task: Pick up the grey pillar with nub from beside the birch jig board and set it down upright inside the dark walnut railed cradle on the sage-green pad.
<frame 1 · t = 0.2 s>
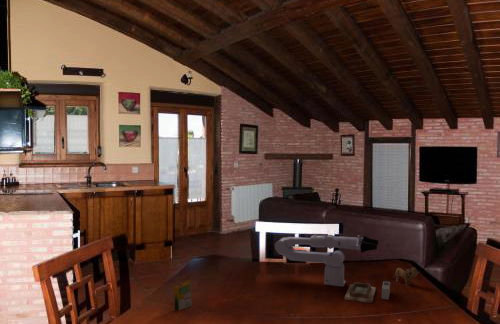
hand: (377, 244, 204), 21 cm above the table, tool horizontal, fingers open, 7 cm apart
grey pillar with nub: (385, 295, 196), on the table
lion figurine: (404, 283, 214), on the table
cradle jig: (360, 294, 197), on the table
crayon box: (183, 308, 181), on the table
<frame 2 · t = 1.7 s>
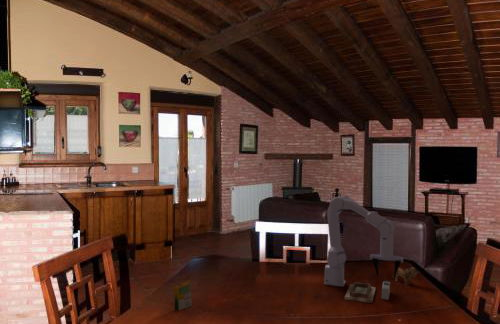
hand: (386, 275, 195), 9 cm above the table, tool pointing down, fingers open, 7 cm apart
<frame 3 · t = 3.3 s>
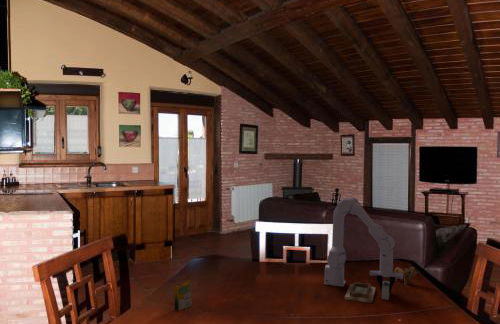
hand: (385, 292, 196), 1 cm above the table, tool pointing down, fingers closed on grey pillar with nub, 3 cm apart
grey pillar with nub: (385, 295, 196), on the table, touching gripper
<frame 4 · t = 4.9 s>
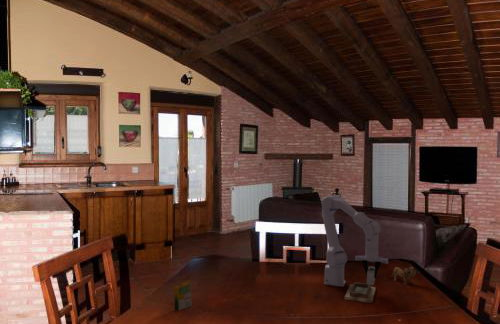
hand: (371, 277, 196), 8 cm above the table, tool pointing down, fingers closed on grey pillar with nub, 3 cm apart
grey pillar with nub: (371, 280, 196), point 7 cm above the table, touching gripper
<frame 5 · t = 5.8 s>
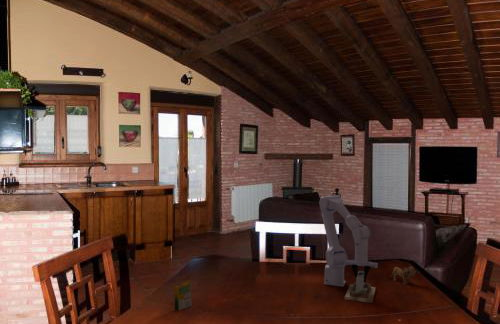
hand: (360, 281, 197), 6 cm above the table, tool pointing down, fingers closed on grey pillar with nub, 3 cm apart
grey pillar with nub: (360, 285, 196), point 4 cm above the table, touching gripper
when the fingers open (4 cm above the table, at t = 6.6 s): grey pillar with nub stays where it is, resting on cradle jig.
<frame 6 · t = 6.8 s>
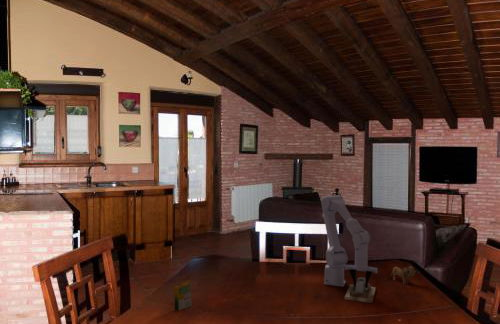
hand: (360, 286, 197), 4 cm above the table, tool pointing down, fingers open, 4 cm apart
grey pillar with nub: (360, 291, 196), point 1 cm above the table, touching cradle jig
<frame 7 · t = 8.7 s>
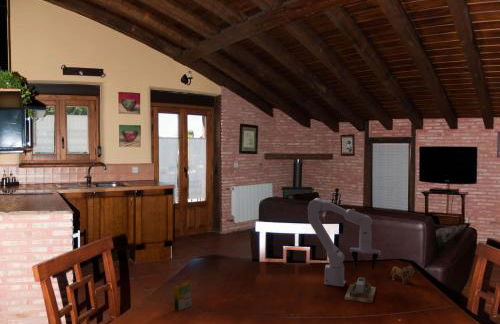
hand: (364, 268, 206), 9 cm above the table, tool pointing down, fingers open, 7 cm apart
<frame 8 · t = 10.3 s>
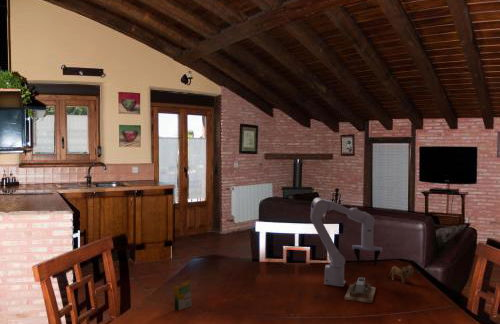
hand: (366, 264, 212), 9 cm above the table, tool pointing down, fingers open, 7 cm apart
at the end: grey pillar with nub 0.5 cm off-centre on the cradle jig, point 1.4 cm above the cradle jig's base; grey pillar with nub tilted 0°; the gripper is holding nothing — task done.
